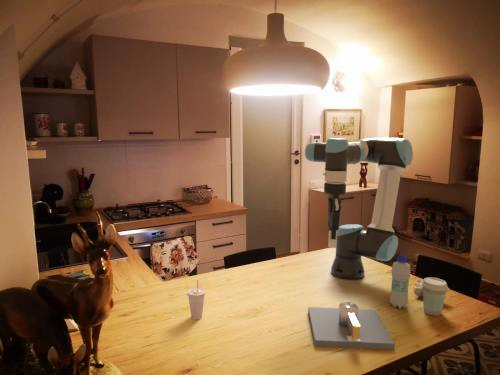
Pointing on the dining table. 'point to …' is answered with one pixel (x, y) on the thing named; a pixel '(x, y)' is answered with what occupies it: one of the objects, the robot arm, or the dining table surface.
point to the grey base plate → (335, 335)
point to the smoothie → (196, 302)
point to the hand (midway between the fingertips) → (332, 247)
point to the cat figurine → (420, 289)
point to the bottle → (400, 282)
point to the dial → (349, 318)
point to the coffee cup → (433, 295)
